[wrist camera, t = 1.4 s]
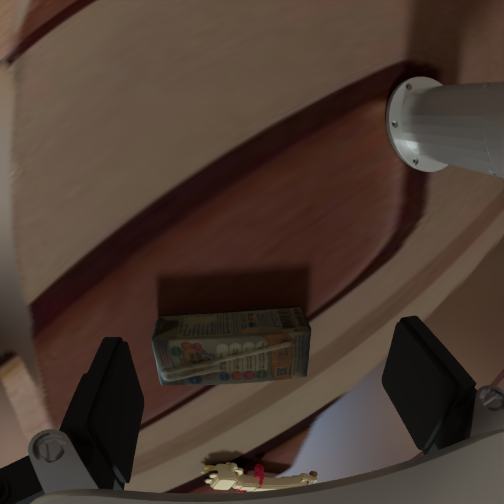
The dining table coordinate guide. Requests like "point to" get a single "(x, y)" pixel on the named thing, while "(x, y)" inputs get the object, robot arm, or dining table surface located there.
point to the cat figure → (251, 478)
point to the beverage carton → (232, 347)
